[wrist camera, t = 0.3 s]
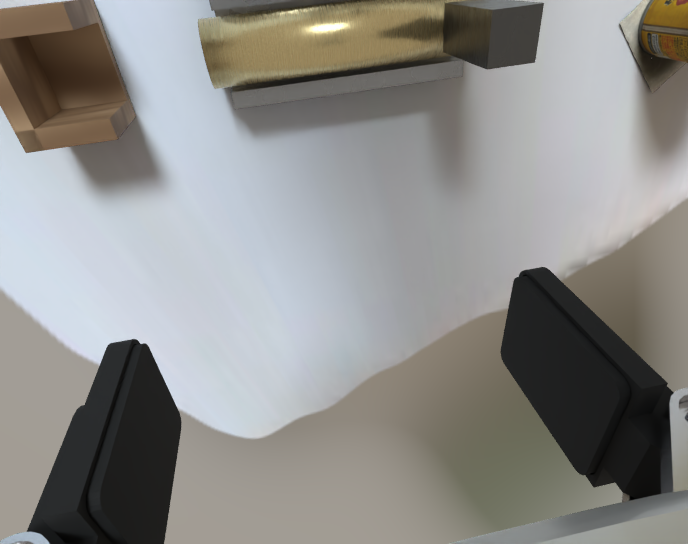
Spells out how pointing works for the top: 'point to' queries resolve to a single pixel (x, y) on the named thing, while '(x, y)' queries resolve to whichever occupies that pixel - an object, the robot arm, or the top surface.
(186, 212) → the top surface
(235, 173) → the top surface
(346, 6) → the bolt
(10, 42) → the socket
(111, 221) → the top surface
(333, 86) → the channel
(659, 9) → the condiment
